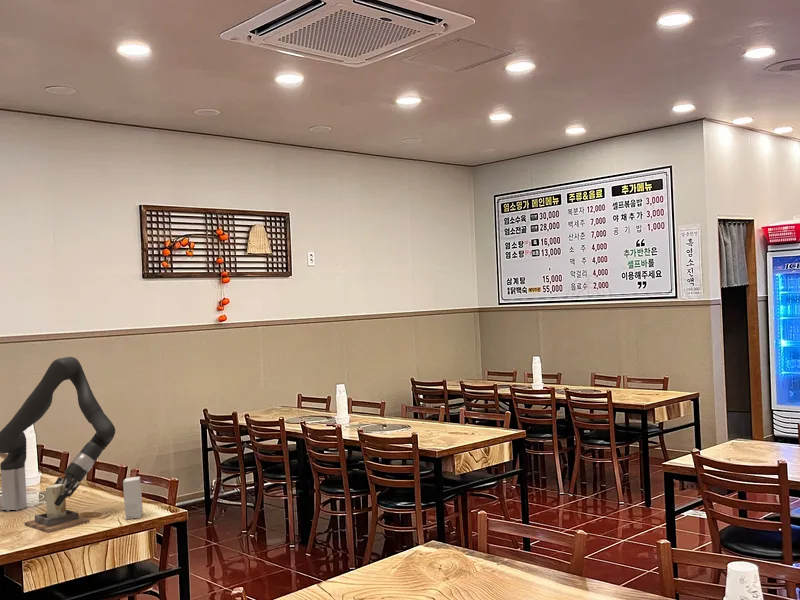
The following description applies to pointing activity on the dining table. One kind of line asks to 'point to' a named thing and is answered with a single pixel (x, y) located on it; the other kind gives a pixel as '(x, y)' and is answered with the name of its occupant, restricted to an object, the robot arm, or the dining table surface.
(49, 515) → the skincare box
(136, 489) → the skincare box
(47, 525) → the collar board
